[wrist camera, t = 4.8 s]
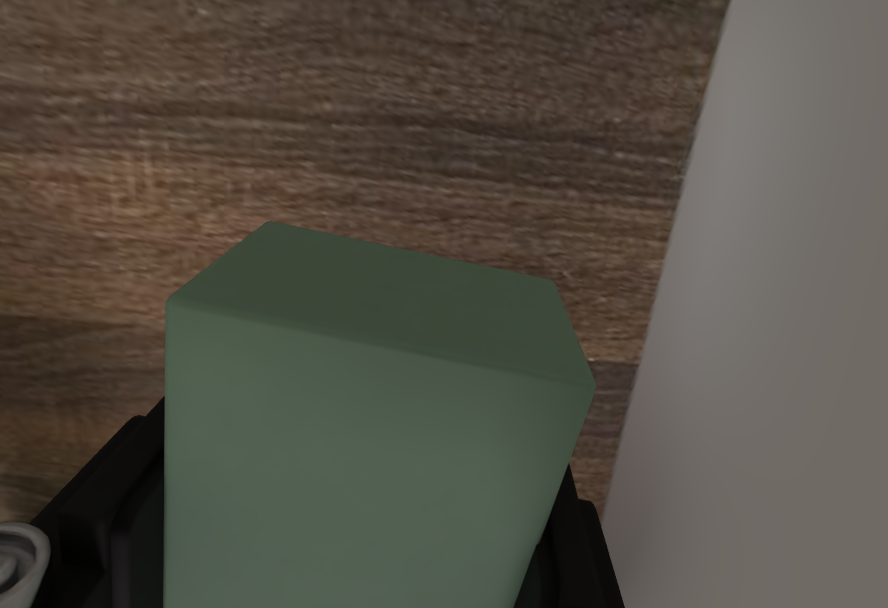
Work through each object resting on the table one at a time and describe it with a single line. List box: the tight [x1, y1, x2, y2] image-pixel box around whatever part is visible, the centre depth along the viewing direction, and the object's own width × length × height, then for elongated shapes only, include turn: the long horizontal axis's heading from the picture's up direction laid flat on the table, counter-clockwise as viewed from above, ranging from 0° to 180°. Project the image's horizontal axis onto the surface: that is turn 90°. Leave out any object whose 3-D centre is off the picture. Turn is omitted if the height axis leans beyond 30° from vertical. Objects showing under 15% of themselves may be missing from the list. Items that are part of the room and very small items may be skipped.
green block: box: [163, 221, 596, 608], centre depth 9 cm, size 8×5×4 cm, turn 168°
